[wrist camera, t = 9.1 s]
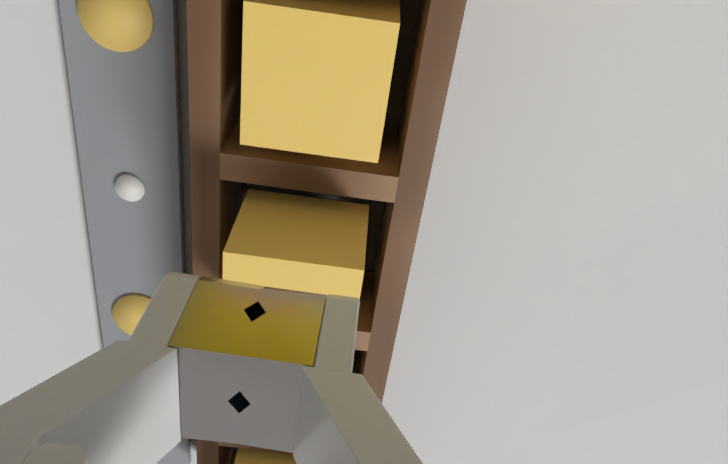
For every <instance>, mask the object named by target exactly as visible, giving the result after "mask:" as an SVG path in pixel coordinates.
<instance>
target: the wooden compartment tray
mask: <svg viewBox="0 0 728 464" xmlns="http://www.w3.org/2000/svg"><path fill="white" fill-rule="evenodd" d="M243 1H244V0H186V7H187V51H188V94H189V137H190V181H191V224H192V267H193V275H198V276H201V277H202V276H206V277H212V278H218V279H223V250H224V248H225V245H226V243H227V240H228V238H229V235H230V233H231V230H232V228H233V225H234V223H235V220H236V218H237V216H238V213H239V211H240V208H241V206H242V183H249V184H257V185H264V186H272V187H279V188H287V189H294V190H301V191H309V192H316V193H324V194H331V195H339V196H346V197H353V198H361V199H368V200H376V201H383V202H386V205H385V211H384V216H383V222H382V228H381V234H380V240H379V245H378V251H377V257H376V263H375V269H374V272H367V271H364V276H363V282H362V289H361V295H360V305H359V315H358V324H357V333H356V343H355V350H360V355H359V361H358V367H357V374H362V375H363V377H364V378H365V380H366V381H367V383H368V384H369V386H370V387H371V389H372V390H373V391H374V393H375V394H376V396H377V397H378V399H379V400H380V402H381V403H382V399H383V394H384V390H385V385H386V380H387V375H388V371H389V366H390V361H391V356H392V352H393V347H394V342H395V337H396V333H397V328H398V323H399V319H400V314H401V309H402V304H403V300H404V295H405V290H406V285H407V281H408V276H409V271H410V266H411V262H412V257H413V252H414V247H415V243H416V238H417V233H418V228H419V224H420V219H421V214H422V209H423V205H424V200H425V195H426V190H427V186H428V181H429V176H430V171H431V167H432V162H433V157H434V153H435V148H436V143H437V138H438V134H439V129H440V124H441V119H442V115H443V110H444V105H445V100H446V96H447V91H448V86H449V81H450V77H451V72H452V67H453V62H454V58H455V53H456V48H457V43H458V39H459V34H460V29H461V24H462V20H463V15H464V10H465V6H466V1H467V0H421V2H420V8H419V14H418V19H417V25H416V31H415V37H414V43H413V48H412V54H411V60H410V66H409V72H408V77H407V83H406V89H405V95H404V101H403V106H402V112H401V118H400V124H399V129H396V128H389V127H384V129H383V135H382V141H381V148H380V154H379V160H378V163H372V162H365V161H358V160H350V159H343V158H336V157H328V156H321V155H314V154H307V153H299V152H292V151H285V150H277V149H270V148H263V147H255V146H248V145H241V144H240V115H241V74H242V33H243ZM196 441H197V464H234V462H235V458H236V456H235V447H236V448H244V449H252V450H260V451H269V452H277V453H285V454H293V453H290V452H284V451H278V450H272V449H266V448H260V447H254V446H248V445H242V444H235V443H225V442H216V441H207V440H198V439H196Z"/></svg>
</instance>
